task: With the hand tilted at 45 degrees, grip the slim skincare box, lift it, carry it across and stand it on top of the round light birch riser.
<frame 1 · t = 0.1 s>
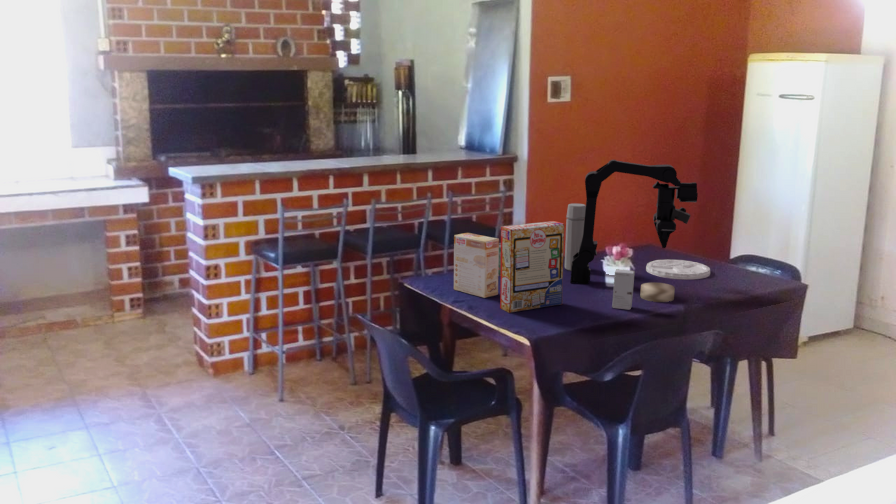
hand: (662, 245, 284), 15 cm above the table, tool pointing down, fingers open, 9 cm apart
coffeecake box: (475, 292, 277), on the table
canned tomato: (506, 274, 302), on the table
skincare box: (622, 307, 261), on the table
birch riser: (657, 298, 272), on the table
medallion: (675, 271, 309), on the table
water bottle: (574, 269, 310), on the table
board game box: (531, 307, 260), on the table
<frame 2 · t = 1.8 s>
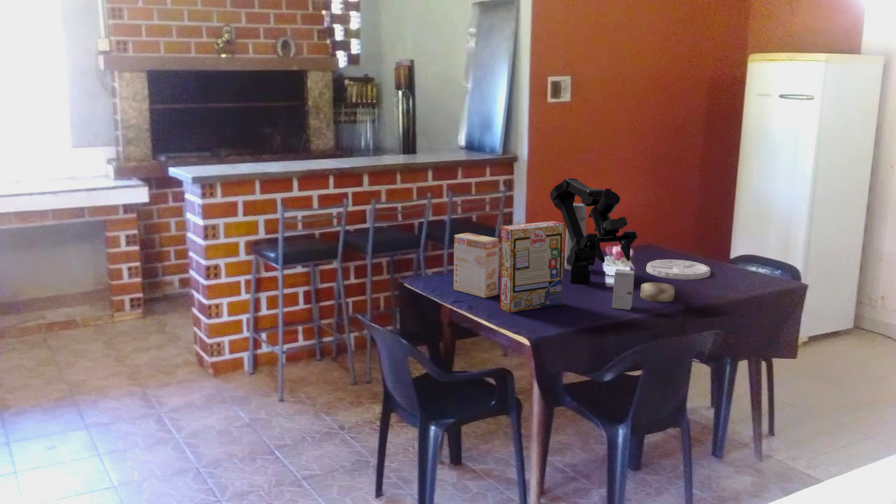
hand: (616, 261, 265), 13 cm above the table, tool tilted 45°, fingers open, 9 cm apart
nothing on the table moved.
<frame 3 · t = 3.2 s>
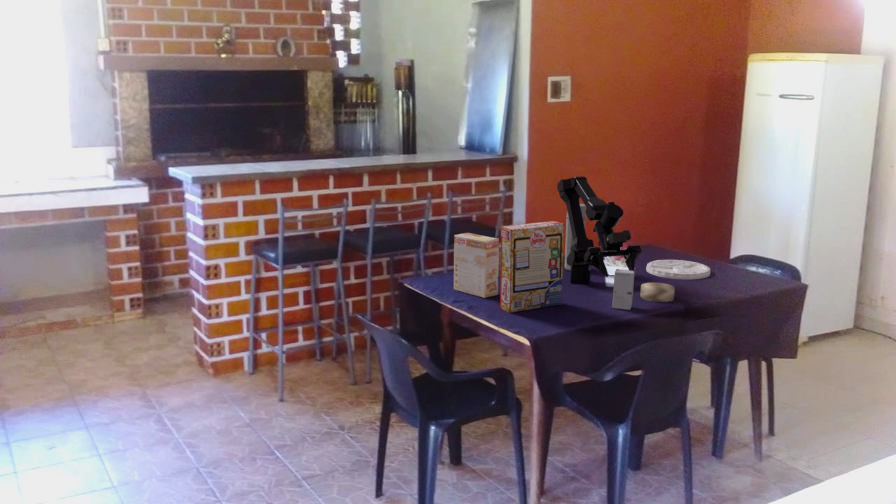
hand: (620, 275, 261), 10 cm above the table, tool tilted 45°, fingers open, 9 cm apart
nothing on the table moved.
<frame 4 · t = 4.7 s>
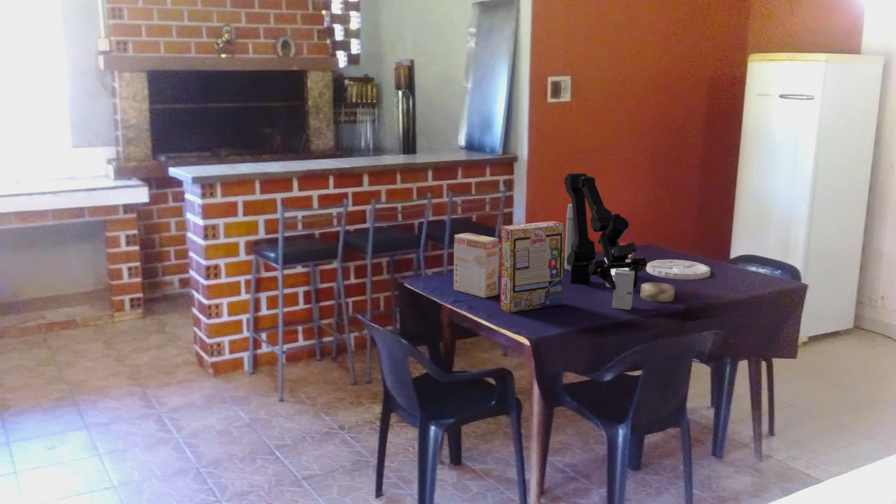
hand: (625, 288, 258), 7 cm above the table, tool tilted 45°, fingers closed on skincare box, 7 cm apart
skincare box: (622, 307, 260), on the table, touching gripper
everything else where it was.
when the fingers open (12 cm above the table, at t = 8.8 s): skincare box drops 2 cm, resting on birch riser.
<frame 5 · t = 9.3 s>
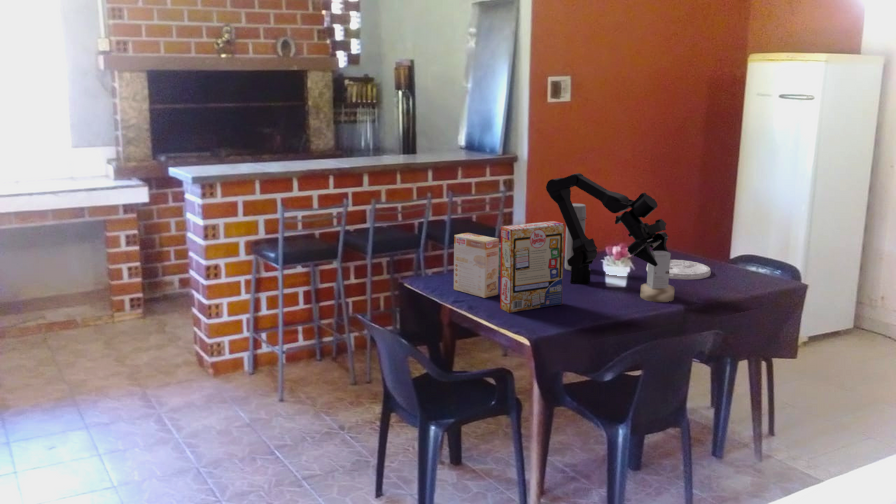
hand: (663, 263, 268), 12 cm above the table, tool tilted 45°, fingers open, 9 cm apart
skincare box: (657, 287, 271), point 3 cm above the table, touching birch riser
birch riser: (656, 298, 272), on the table, touching skincare box
everything else where it was.
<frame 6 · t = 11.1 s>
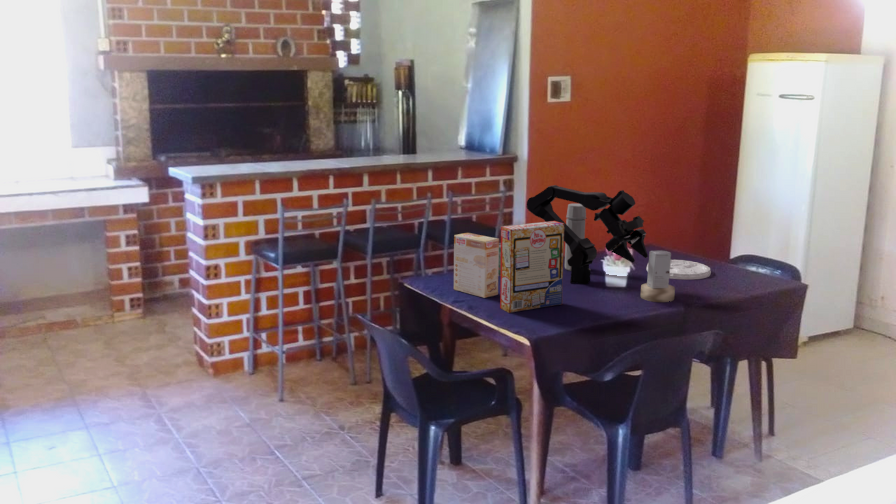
hand: (640, 259, 274), 12 cm above the table, tool tilted 45°, fingers open, 9 cm apart
skincare box: (657, 287, 271), point 3 cm above the table
birch riser: (657, 298, 272), on the table
everything else where it was.
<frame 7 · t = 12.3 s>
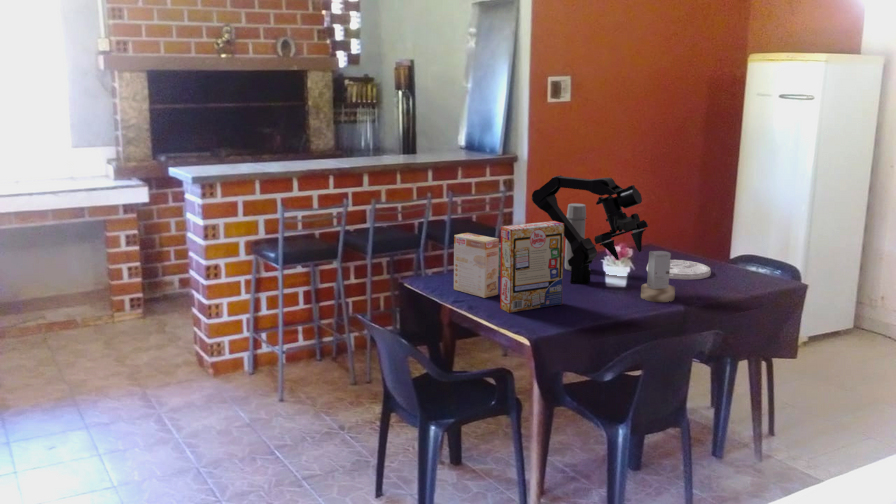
hand: (629, 255, 278), 12 cm above the table, tool tilted 25°, fingers open, 9 cm apart
nothing on the table moved.
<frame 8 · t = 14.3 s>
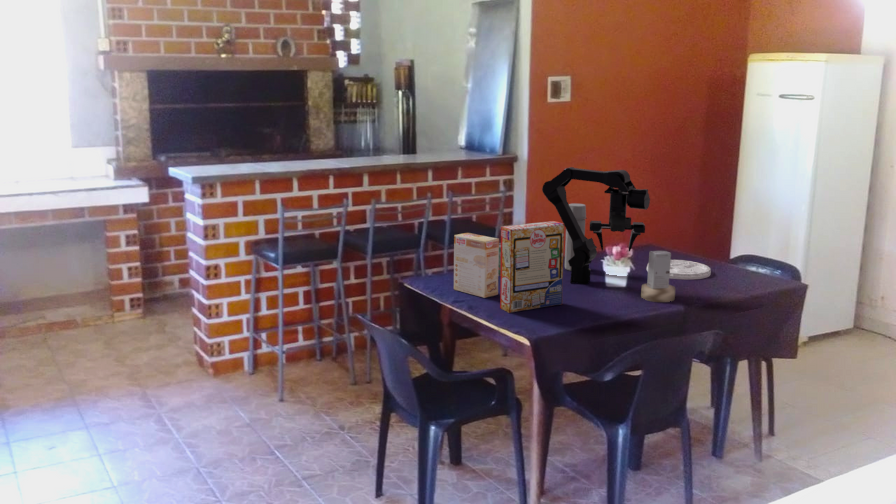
hand: (615, 251, 282), 13 cm above the table, tool pointing down, fingers open, 9 cm apart
skincare box: (657, 287, 271), point 3 cm above the table, touching birch riser
birch riser: (657, 298, 272), on the table, touching skincare box
everything else where it was.
at the end: skincare box 0.2 cm off-centre on the birch riser, point 3.8 cm above the birch riser's base; skincare box tilted 0°; the gripper is holding nothing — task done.
